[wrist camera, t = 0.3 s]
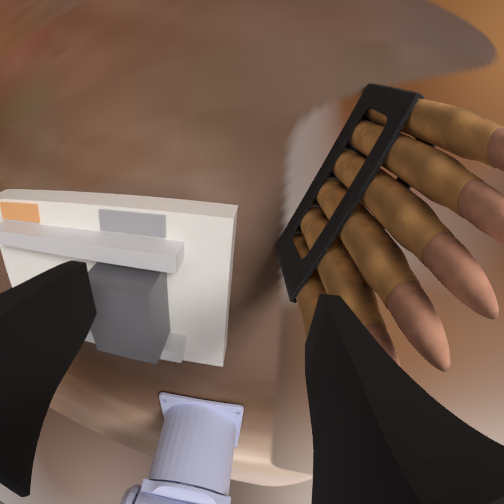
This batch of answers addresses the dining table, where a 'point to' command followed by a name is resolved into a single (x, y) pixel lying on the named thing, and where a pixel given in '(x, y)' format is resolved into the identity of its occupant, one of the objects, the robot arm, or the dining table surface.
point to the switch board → (133, 253)
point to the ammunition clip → (396, 217)
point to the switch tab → (130, 311)
